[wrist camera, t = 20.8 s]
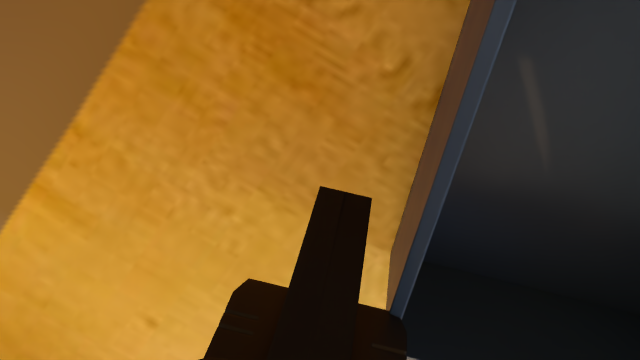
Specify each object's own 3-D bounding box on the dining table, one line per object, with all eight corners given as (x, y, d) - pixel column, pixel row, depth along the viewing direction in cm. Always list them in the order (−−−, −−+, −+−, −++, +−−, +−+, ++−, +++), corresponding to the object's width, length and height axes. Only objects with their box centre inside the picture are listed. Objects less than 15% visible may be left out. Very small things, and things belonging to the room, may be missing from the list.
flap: (322, 539, 16) (313, 535, 16) (384, 366, 22) (377, 364, 22) (562, -128, 7) (538, -132, 7) (554, -107, 13) (542, -110, 13)
